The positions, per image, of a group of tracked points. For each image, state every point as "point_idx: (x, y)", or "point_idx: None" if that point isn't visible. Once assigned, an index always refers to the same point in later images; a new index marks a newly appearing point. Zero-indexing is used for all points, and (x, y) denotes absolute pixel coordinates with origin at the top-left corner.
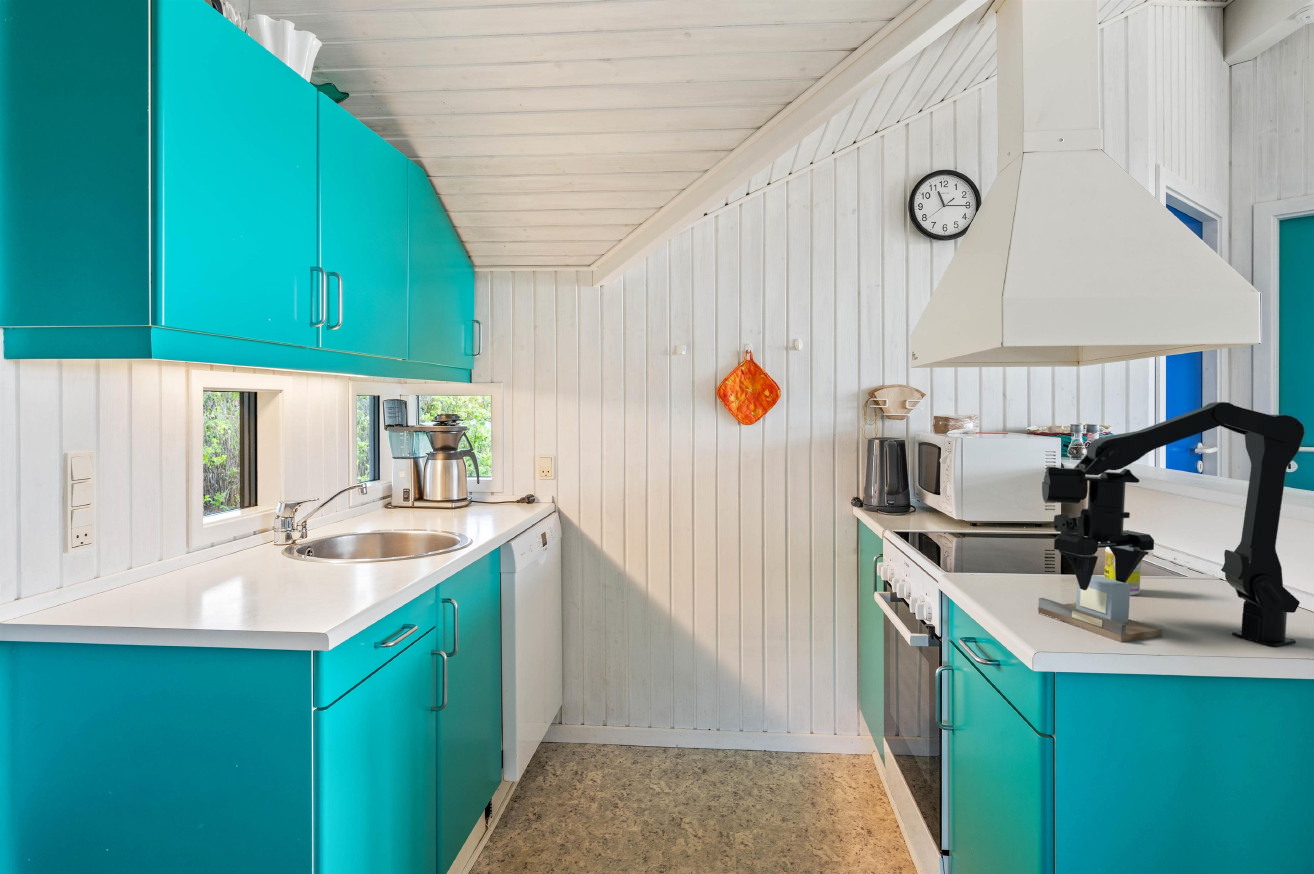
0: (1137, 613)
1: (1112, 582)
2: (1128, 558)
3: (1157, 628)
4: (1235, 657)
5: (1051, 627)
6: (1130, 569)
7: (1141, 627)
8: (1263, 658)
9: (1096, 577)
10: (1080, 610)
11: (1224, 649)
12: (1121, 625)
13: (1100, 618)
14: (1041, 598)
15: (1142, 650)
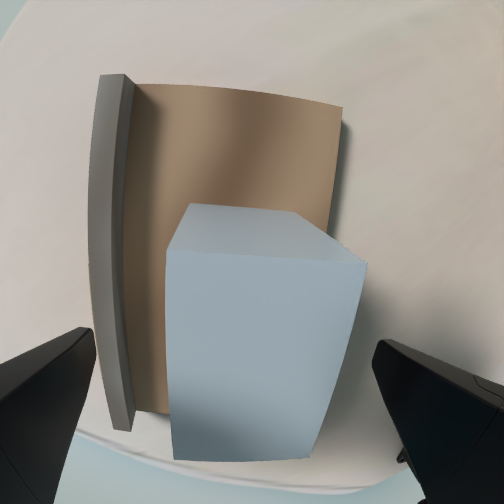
0: (450, 244)
1: (258, 425)
2: (456, 491)
3: None
4: (277, 485)
5: (29, 238)
6: (411, 461)
7: None
8: (316, 489)
9: (299, 318)
10: (103, 292)
11: (311, 465)
12: (113, 427)
13: (102, 375)
14: (104, 85)
15: (126, 434)
